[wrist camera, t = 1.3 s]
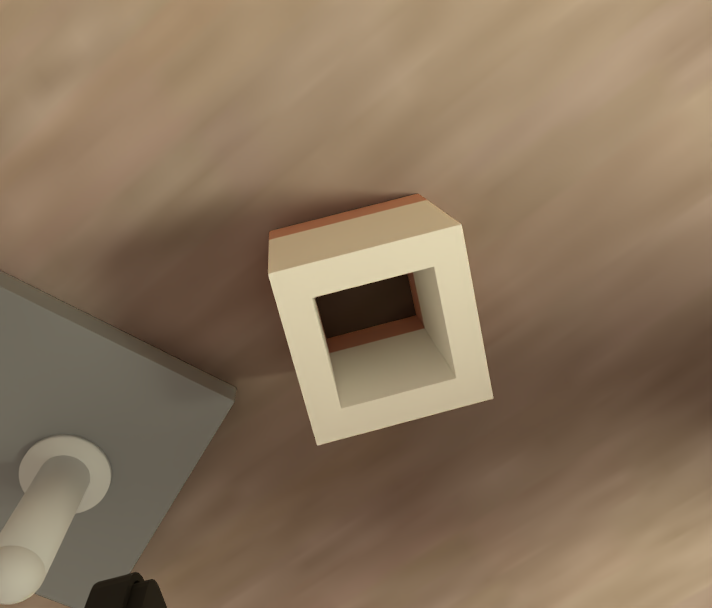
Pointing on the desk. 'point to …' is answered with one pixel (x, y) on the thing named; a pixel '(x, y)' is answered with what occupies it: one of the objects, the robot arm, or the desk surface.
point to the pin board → (88, 444)
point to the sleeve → (386, 341)
